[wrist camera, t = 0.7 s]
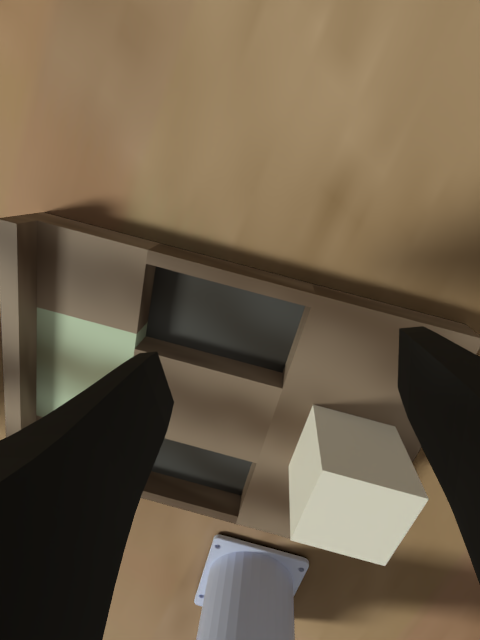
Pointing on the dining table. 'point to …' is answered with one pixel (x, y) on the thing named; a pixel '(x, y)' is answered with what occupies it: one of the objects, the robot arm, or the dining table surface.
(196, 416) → the trap deck
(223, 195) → the dining table surface
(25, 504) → the robot arm
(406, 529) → the block
